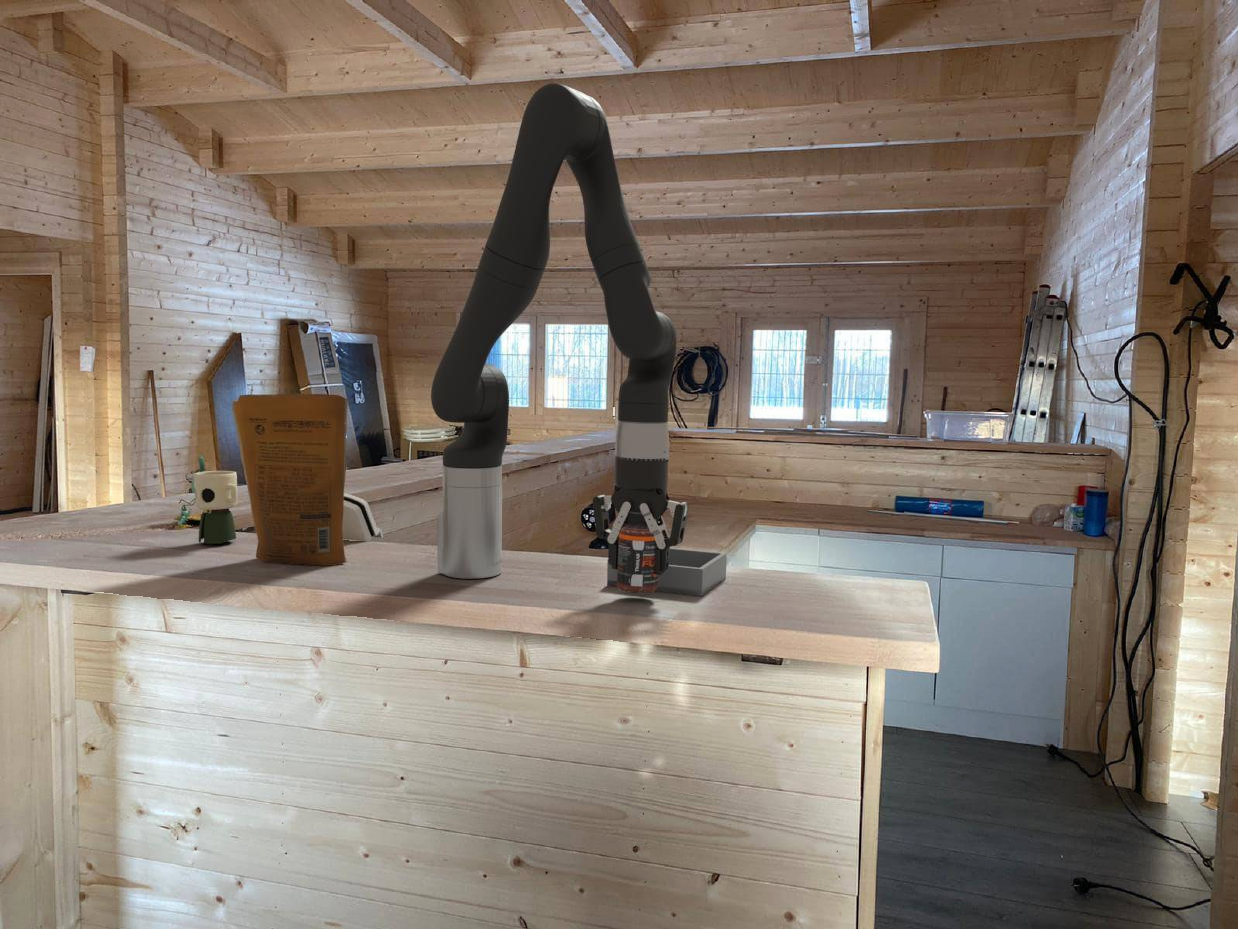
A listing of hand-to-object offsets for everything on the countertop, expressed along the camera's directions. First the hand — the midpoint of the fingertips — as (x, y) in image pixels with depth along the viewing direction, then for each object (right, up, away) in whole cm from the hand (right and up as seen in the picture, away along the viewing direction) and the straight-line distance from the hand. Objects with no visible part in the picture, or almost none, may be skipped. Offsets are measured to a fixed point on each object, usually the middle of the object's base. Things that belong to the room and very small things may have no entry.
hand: (638, 570), depth 125 cm
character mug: (-76, +1, +35) cm, 84 cm away
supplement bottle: (0, -3, 0) cm, 3 cm away
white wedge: (-57, +1, +44) cm, 72 cm away
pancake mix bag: (-56, -1, +21) cm, 60 cm away
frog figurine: (-90, +3, +58) cm, 107 cm away
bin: (+5, -3, +12) cm, 13 cm away
